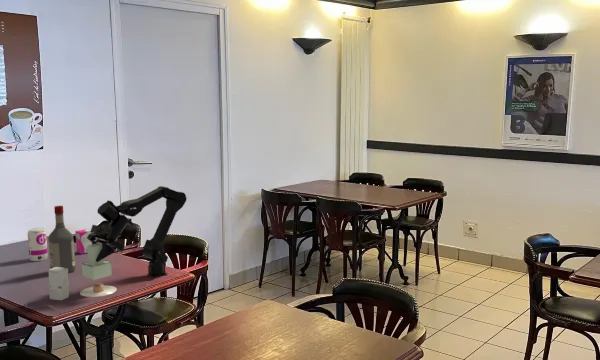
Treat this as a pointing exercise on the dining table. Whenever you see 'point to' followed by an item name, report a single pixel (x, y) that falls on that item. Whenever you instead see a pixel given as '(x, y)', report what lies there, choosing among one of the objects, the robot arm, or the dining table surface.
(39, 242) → the supplement can
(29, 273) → the dining table surface
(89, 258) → the cover
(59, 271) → the skincare box
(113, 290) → the plate
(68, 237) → the liquor
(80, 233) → the supplement box
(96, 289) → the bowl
